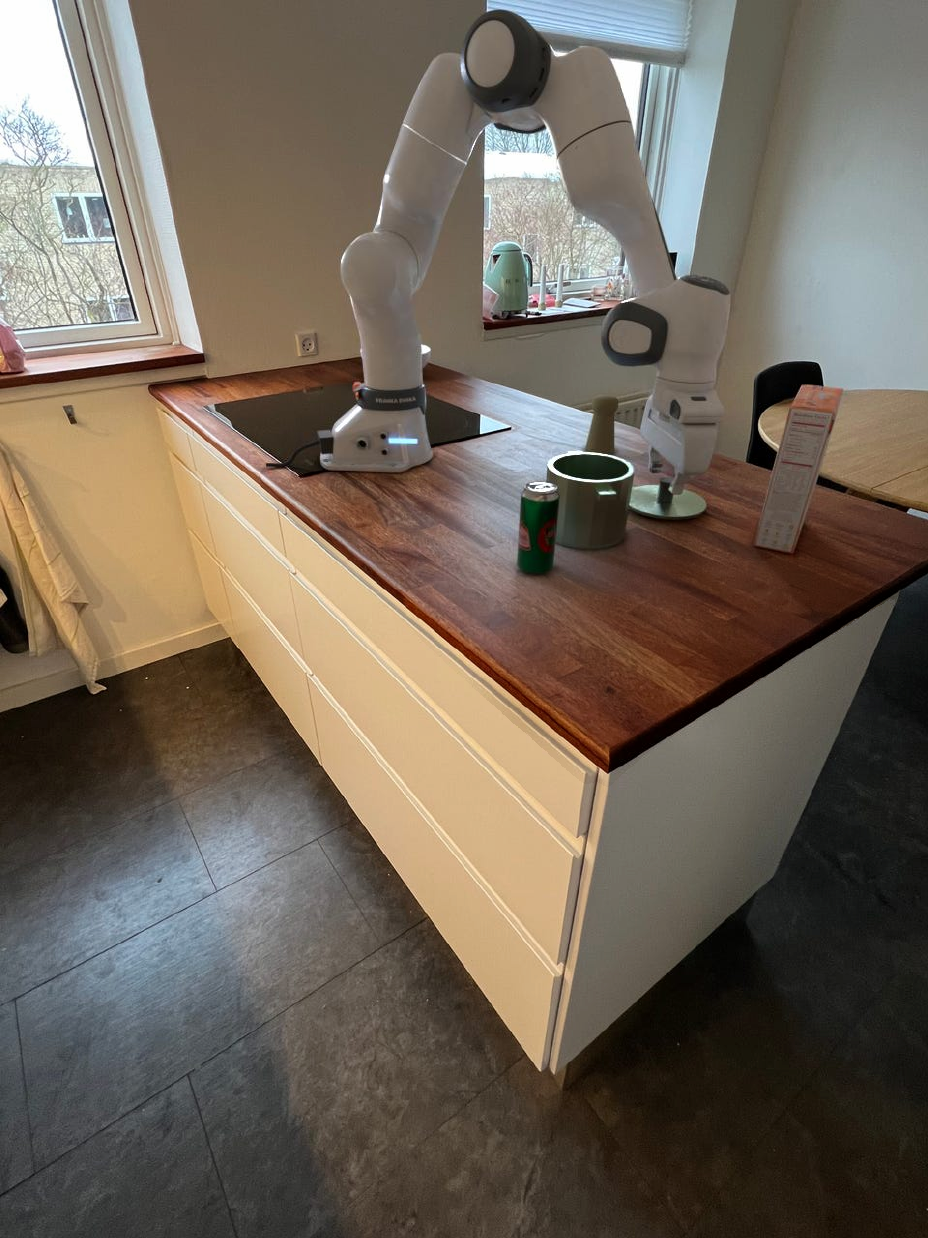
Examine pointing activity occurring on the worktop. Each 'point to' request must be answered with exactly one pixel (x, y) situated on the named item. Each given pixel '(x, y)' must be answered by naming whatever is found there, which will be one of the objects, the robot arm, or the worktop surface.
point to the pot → (591, 498)
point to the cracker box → (797, 466)
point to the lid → (666, 502)
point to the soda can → (537, 527)
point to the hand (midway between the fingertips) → (664, 482)
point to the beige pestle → (602, 425)
